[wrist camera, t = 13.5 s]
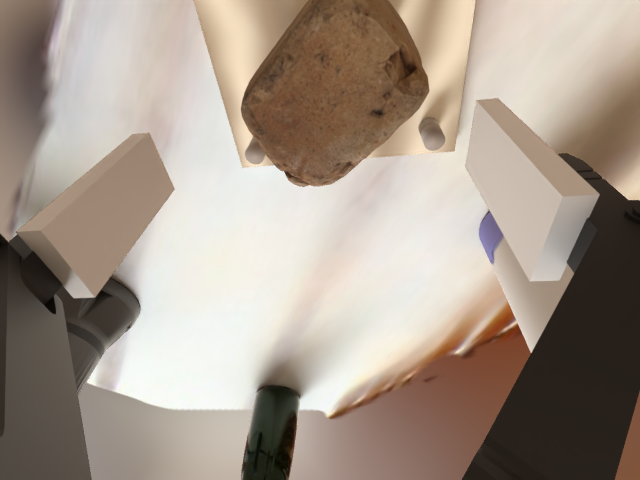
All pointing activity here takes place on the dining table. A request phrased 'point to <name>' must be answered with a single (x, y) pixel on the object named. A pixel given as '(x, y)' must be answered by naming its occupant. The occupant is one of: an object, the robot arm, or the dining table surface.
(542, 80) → the dining table surface
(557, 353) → the robot arm
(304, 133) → the block
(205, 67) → the dining table surface
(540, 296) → the container
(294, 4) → the peg stand
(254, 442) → the beer bottle
